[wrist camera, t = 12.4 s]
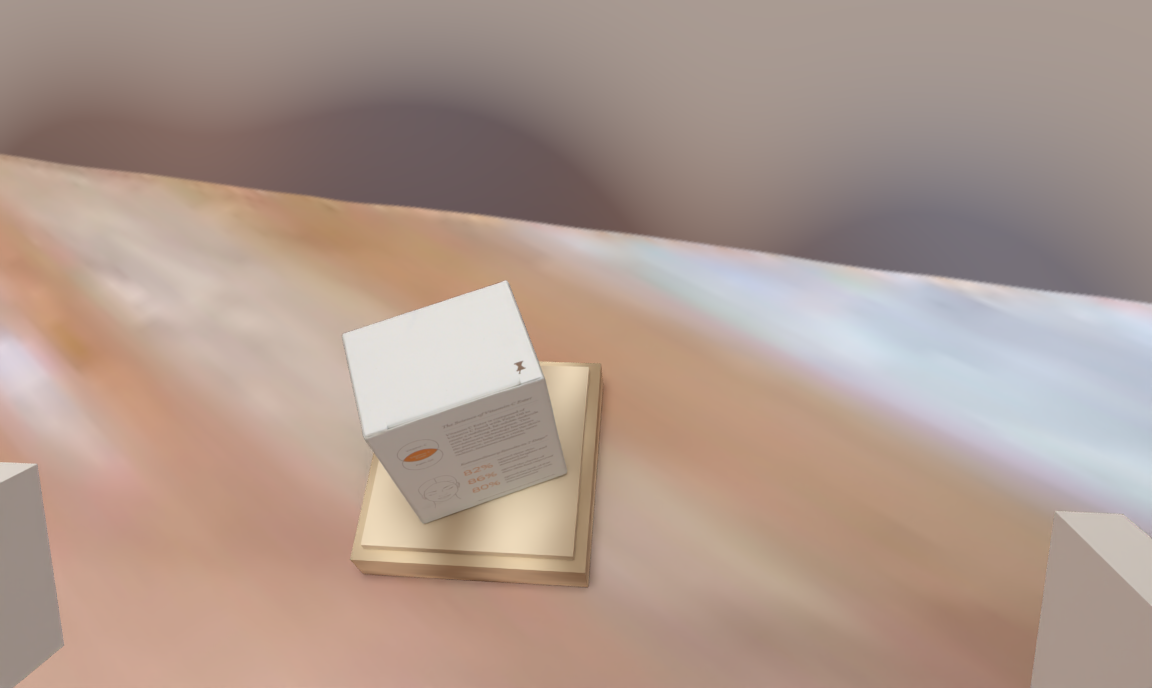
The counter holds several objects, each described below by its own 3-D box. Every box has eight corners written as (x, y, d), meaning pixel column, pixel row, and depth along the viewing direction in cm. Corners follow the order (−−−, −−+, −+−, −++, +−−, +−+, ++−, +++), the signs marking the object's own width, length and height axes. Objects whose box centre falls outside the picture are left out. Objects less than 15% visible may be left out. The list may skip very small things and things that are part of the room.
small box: (538, 388, 48) (511, 274, 39) (570, 476, 45) (549, 376, 36) (397, 435, 47) (337, 329, 38) (420, 528, 44) (361, 437, 35)
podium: (603, 384, 51) (600, 358, 49) (588, 587, 45) (584, 569, 42) (404, 377, 53) (392, 351, 50) (363, 574, 46) (346, 555, 44)
